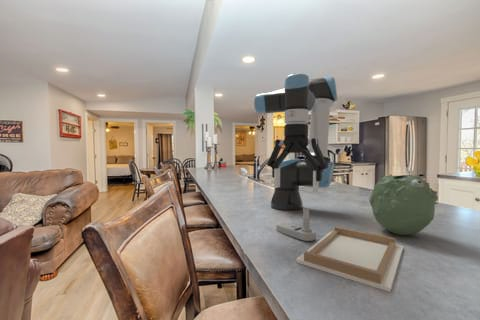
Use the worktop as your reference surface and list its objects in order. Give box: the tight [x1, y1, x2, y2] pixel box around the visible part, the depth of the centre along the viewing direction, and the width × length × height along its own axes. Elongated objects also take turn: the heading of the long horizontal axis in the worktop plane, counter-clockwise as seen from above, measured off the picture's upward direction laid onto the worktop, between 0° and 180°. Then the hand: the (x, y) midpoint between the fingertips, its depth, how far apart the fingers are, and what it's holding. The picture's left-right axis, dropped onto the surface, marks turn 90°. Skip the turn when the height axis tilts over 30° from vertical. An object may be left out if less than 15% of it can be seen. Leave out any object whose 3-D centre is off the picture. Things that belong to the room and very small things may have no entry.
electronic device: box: [276, 207, 317, 242], centre depth 79 cm, size 5×10×15 cm
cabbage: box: [369, 173, 439, 236], centre depth 79 cm, size 16×19×20 cm
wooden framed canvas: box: [295, 226, 404, 293], centre depth 64 cm, size 26×20×3 cm
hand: (295, 189), depth 78 cm, fingers open, 13 cm apart
